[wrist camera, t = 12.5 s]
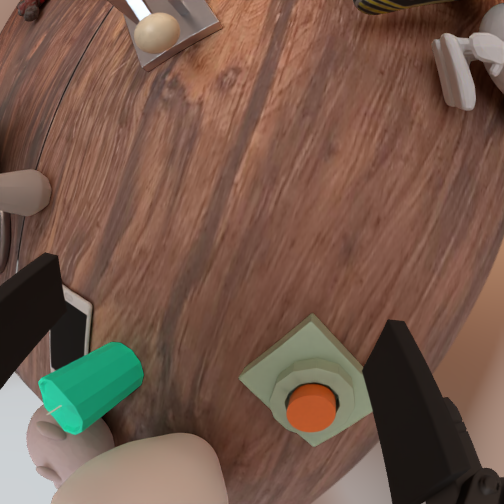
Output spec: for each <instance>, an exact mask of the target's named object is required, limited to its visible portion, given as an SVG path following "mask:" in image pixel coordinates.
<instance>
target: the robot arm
mask: <svg viewBox="0 0 504 504" xmlns="http://www.w3.org/2000/svg"><path fill="white" fill-rule="evenodd" d="M9 247H10V213H8V212H4V211H0V273H1V272H2V271H3V270H4V268H5V265H6V262H7V259H8V254H9ZM66 311H67V308H66V303H65V298H64V292H63V286H62V280H61V274H60V267H59V259H58V256H57V255H53V254H50V253H46V252H45V253H44V254H42V255H41V256H39V257H38V258H37V259H35V260H34V261H32V262H31V263H30V264H28V265H27V266H26V267H24V268H23V269H22V270H20V271H19V272H18V273H16V274H15V275H14V276H12V277H11V278H10V279H8V280H7V281H6V282H5V283H3V284H2V285H1V286H0V389H1V388H2V387H3V386H4V384H5V383H6V382H7V380H8V379H9V378H10V376H11V375H12V374H13V372H14V371H15V370H16V369H17V368H18V367H19V365H20V364H21V363H22V362H23V360H24V359H25V358H26V357H27V356H28V354H29V353H30V352H31V351H32V350H33V348H34V347H35V346H36V345H37V344H38V343H39V341H40V340H41V339H42V338H43V337H44V336H45V335H46V333H47V332H48V331H49V330H50V329H51V328H52V327H53V326H54V325H55V323H56V322H57V321H58V320H59V319H60V318H61V317H62V316H63V315H64V314H65V313H66ZM362 373H363V377H364V380H365V384H366V388H367V391H368V395H369V399H370V403H371V407H372V410H373V414H374V418H375V423H376V427H377V431H378V435H379V439H380V444H381V448H382V453H383V457H384V462H385V467H386V472H387V476H388V482H389V487H390V492H391V498H392V504H421V503H423V502H425V501H426V504H504V477H501V478H500V477H499V476H498V475H497V473H496V472H495V471H494V470H492V469H490V468H482V466H481V464H480V461H479V459H478V456H477V454H476V451H475V448H474V446H473V443H472V441H471V438H470V436H469V434H468V432H466V427H465V424H464V422H462V417H461V415H460V413H459V411H458V409H457V407H456V406H455V405H454V404H453V402H452V401H451V400H450V399H449V398H448V397H445V398H443V397H442V395H441V392H440V390H439V388H438V386H437V384H436V382H435V380H434V378H433V376H432V373H431V371H430V369H429V367H428V365H427V363H426V361H425V359H424V357H423V356H422V354H421V352H420V350H419V348H418V346H417V344H416V342H415V340H414V338H413V336H412V335H411V333H410V331H409V329H408V327H407V325H406V324H405V322H404V321H397V320H389V319H388V320H387V322H386V324H385V327H384V329H383V331H382V333H381V335H380V337H379V339H378V341H377V343H376V345H375V347H374V349H373V351H372V352H371V354H370V356H369V358H368V360H367V362H366V364H365V366H364V367H363V369H362Z"/></svg>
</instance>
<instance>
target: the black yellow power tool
mask: <svg viewBox="0 0 504 504" xmlns="http://www.w3.org/2000/svg"><path fill="white" fill-rule="evenodd" d="M449 1H458V0H353V2H354V5H355V6H356V8H357V9H358V10H360V11H361V12H363V13H365V14H368V15H379V14H384V13H389V12H393V11H398V10H402V9H407V8H412V7H417V6H423V5H428V4H435V3H442V2H449Z"/></svg>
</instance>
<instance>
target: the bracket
mask: <svg viewBox="0 0 504 504" xmlns="http://www.w3.org/2000/svg"><path fill="white" fill-rule="evenodd" d="M107 1H109V2H110V3H111V4H112V5H113V6H115V7H116V8H117V9H118V10H120V11H121V12H122V13H123V15H124V18H125V21H126V24H127V27H128V30H129V33H130V35H131V38H132V41H133V44H134V47H135V50H136V53H137V56H138V59H139V61H140V64H141V67H142V68H143V69H144V70H146V71H147V72H149V71H151V70H152V69H154V68H155V67H156V66H158V65H160V64H161V63H163V62H164V61H166V60H167V59H169V58H170V57H172V56H174V55H175V54H177V53H178V52H180V51H182V50H183V49H185V48H187V47H189V46H190V45H192V44H194V43H196V42H197V41H199V40H201V39H203V38H205V37H206V36H208V35H210V34H212V33H214V32H216V31H218V30H220V29H222V28H223V27H222V25H221V24H220V22H219V20H218V19H217V18H216V16H215V15H214V13H213V12H212V10H211V9H210V7H209V6H208V4H207V3H206V1H205V0H145V1H146V3H147V4H148V6H149V7H150V9H151V10H152V12H153V13H166V14H169V15H171V16H173V17H174V18H175V19H176V20H177V21H178V23H179V26H180V36H179V39H178V41H177V42H176V44H175V45H174V46H173V47H172V48H170V49H169V50H167V51H165V52H162V53H158V54H150V53H146V52H144V51H142V50H141V49H140V48H139V47H138V46H137V45H136V43H135V40H134V31H135V28H136V26H137V25H138V23H139V22H140V21H139V20H138V18H137V17H136V15H135V14H134V12H133V11H132V9H131V8H130V6H129V5H128V3H127V2H126V0H107Z"/></svg>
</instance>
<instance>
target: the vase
mask: <svg viewBox="0 0 504 504" xmlns="http://www.w3.org/2000/svg"><path fill="white" fill-rule="evenodd" d="M51 504H229V502H228V495H227V490H226V486H225V482H224V478H223V474H222V470H221V466H220V463H219V459H218V457H217V454H216V452H215V451H214V449H213V448H212V446H211V445H210V444H209V443H208V442H206V441H205V440H204V439H202V438H200V437H198V436H196V435H193V434H189V433H172V434H167V435H162V436H157V437H152V438H146V439H141V440H136V441H132V442H128V443H125V444H123V445H120V446H117V447H115V448H113V449H111V450H109V451H107V452H104V453H102V454H100V455H98V456H96V457H95V458H93V459H91V460H89V461H88V462H86V463H85V464H83V465H82V466H81V467H79V468H78V469H77V470H76V471H75V472H74V473H73V474H72V475H71V476H70V477H69V478H68V479H67V480H66V481H65V482H64V483H63V484H62V486H61V487H60V488H59V489H58V491H57V492H56V493H55V495H54V496H53V498H52V502H51Z"/></svg>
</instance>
